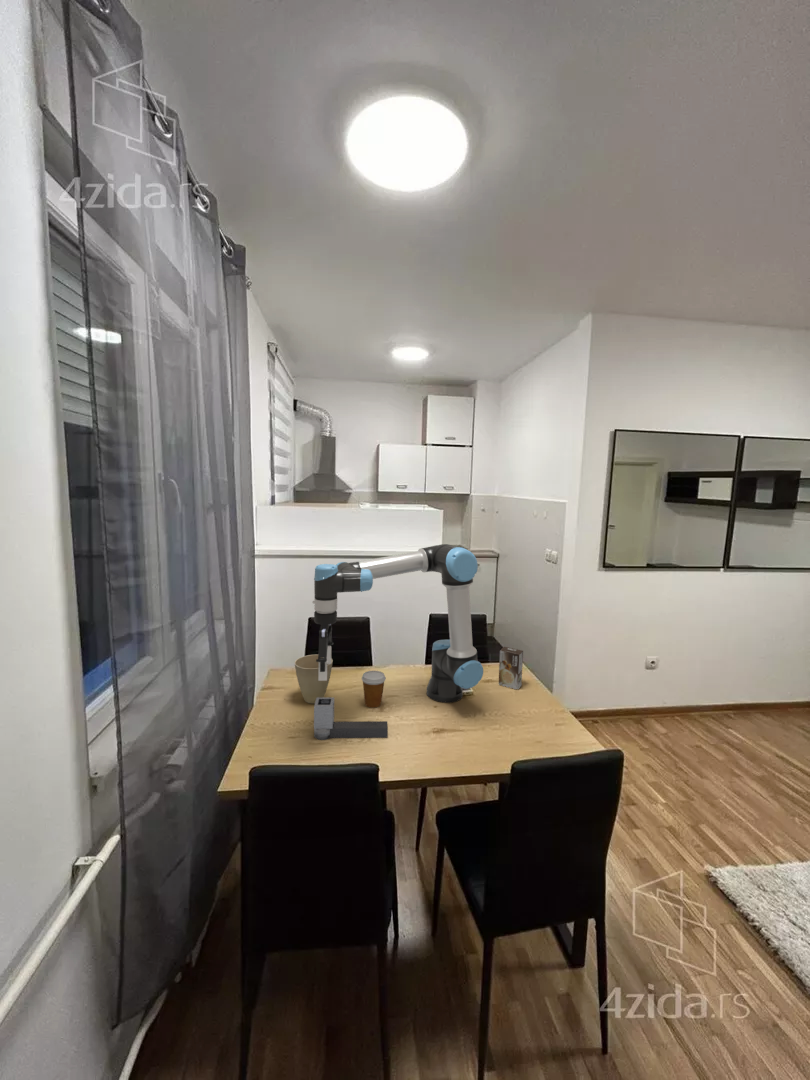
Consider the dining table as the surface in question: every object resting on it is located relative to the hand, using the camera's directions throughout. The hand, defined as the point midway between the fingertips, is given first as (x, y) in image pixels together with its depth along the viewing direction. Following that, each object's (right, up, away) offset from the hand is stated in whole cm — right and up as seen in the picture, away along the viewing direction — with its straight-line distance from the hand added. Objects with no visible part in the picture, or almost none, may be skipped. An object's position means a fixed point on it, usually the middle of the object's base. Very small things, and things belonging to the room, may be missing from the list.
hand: (325, 671), depth 148 cm
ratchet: (+8, -23, +3) cm, 24 cm away
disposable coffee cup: (+14, -21, +25) cm, 36 cm away
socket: (-1, -19, +2) cm, 19 cm away
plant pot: (-10, -20, +28) cm, 35 cm away
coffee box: (+74, -20, +47) cm, 90 cm away
